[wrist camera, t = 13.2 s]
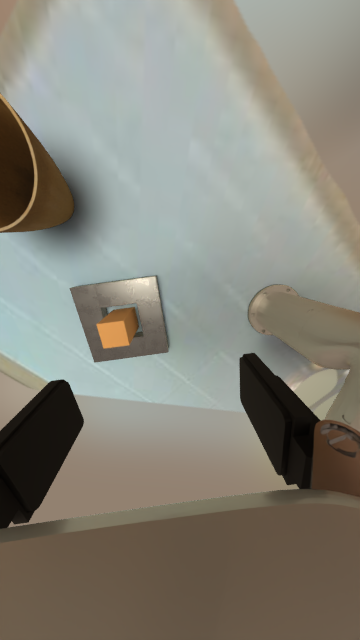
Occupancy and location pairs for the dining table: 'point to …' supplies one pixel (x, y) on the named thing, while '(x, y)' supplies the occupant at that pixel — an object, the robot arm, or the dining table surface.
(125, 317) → the orange rectangular block
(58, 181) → the plant pot
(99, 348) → the grey square frame
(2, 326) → the dining table surface
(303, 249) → the dining table surface
